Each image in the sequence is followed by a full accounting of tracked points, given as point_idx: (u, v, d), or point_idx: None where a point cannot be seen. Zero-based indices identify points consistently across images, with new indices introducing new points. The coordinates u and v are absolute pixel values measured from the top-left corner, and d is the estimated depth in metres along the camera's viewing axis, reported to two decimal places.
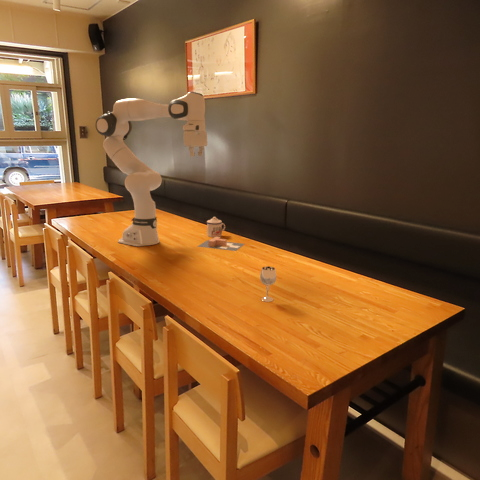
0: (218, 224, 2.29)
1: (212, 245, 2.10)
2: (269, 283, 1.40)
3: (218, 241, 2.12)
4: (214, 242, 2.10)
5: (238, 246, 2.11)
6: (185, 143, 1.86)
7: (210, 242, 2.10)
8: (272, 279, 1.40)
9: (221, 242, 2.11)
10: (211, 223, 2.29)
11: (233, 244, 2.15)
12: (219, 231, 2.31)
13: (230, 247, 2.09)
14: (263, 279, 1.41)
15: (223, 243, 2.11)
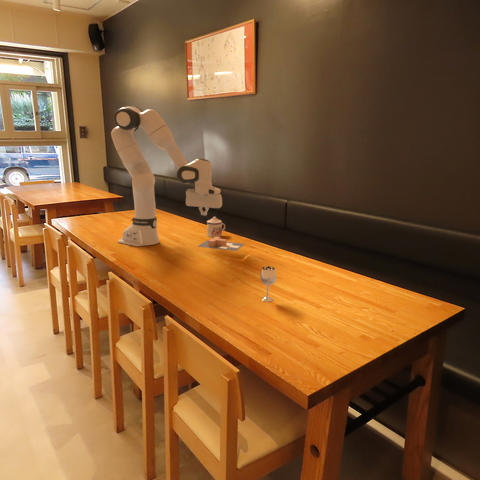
0: (218, 224, 2.29)
1: (212, 245, 2.10)
2: (269, 283, 1.40)
3: (218, 241, 2.12)
4: (214, 242, 2.10)
5: (238, 246, 2.11)
6: (220, 205, 2.07)
7: (210, 242, 2.10)
8: (272, 279, 1.40)
9: (221, 242, 2.11)
10: (211, 223, 2.29)
11: (233, 244, 2.15)
12: (219, 231, 2.31)
13: (230, 247, 2.09)
14: (263, 279, 1.41)
15: (223, 243, 2.11)
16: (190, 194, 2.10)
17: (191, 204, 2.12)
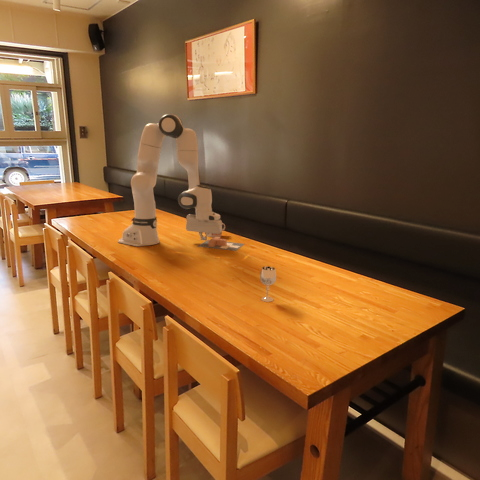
0: None
1: (212, 245, 2.10)
2: (269, 283, 1.40)
3: (218, 241, 2.12)
4: (214, 242, 2.10)
5: (238, 246, 2.11)
6: (220, 231, 2.11)
7: (210, 242, 2.10)
8: (272, 279, 1.40)
9: (221, 242, 2.11)
10: None
11: (233, 244, 2.15)
12: None
13: (230, 247, 2.09)
14: (263, 279, 1.41)
15: (223, 243, 2.11)
16: (190, 220, 2.14)
17: (191, 229, 2.15)
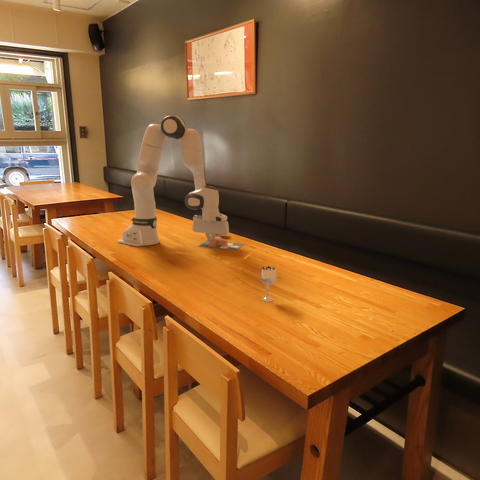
0: None
1: (213, 245, 2.10)
2: (269, 283, 1.40)
3: (219, 241, 2.12)
4: (215, 242, 2.10)
5: (238, 246, 2.11)
6: (227, 232, 2.10)
7: (211, 242, 2.09)
8: (272, 279, 1.40)
9: (222, 242, 2.11)
10: None
11: (233, 244, 2.15)
12: None
13: (230, 247, 2.09)
14: (263, 279, 1.41)
15: (224, 243, 2.11)
16: (197, 220, 2.13)
17: (198, 230, 2.14)
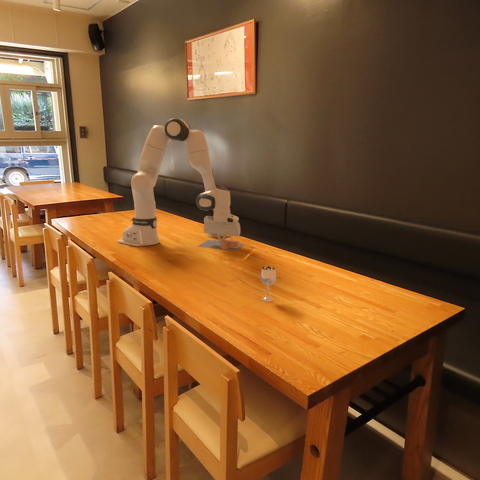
0: None
1: (224, 246, 2.08)
2: (269, 283, 1.40)
3: (230, 242, 2.10)
4: (226, 243, 2.08)
5: (238, 246, 2.11)
6: (238, 233, 2.08)
7: (222, 243, 2.08)
8: (272, 279, 1.40)
9: (233, 243, 2.09)
10: None
11: None
12: None
13: (230, 247, 2.09)
14: (263, 279, 1.41)
15: (235, 244, 2.09)
16: (208, 221, 2.11)
17: (209, 231, 2.12)
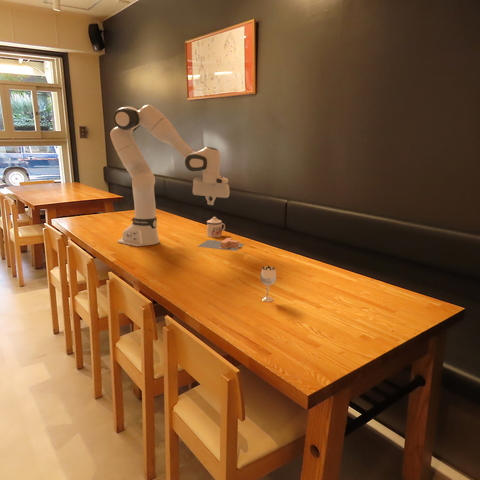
0: (218, 224, 2.29)
1: (224, 246, 2.08)
2: (269, 283, 1.40)
3: (230, 242, 2.10)
4: (226, 243, 2.08)
5: (238, 246, 2.11)
6: (227, 195, 2.05)
7: (222, 243, 2.08)
8: (272, 279, 1.40)
9: (233, 243, 2.09)
10: (211, 223, 2.29)
11: None
12: (219, 231, 2.31)
13: (230, 247, 2.09)
14: (263, 279, 1.41)
15: (235, 244, 2.09)
16: (197, 183, 2.08)
17: (198, 192, 2.10)
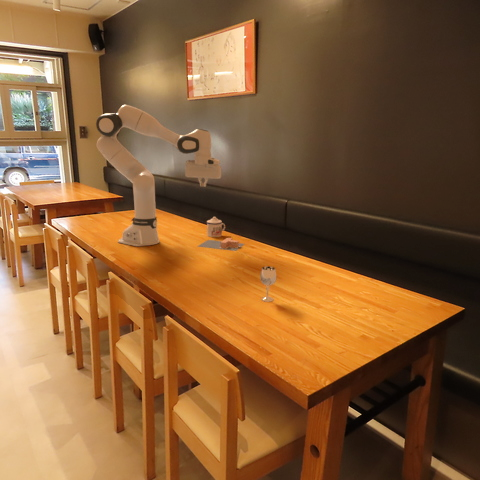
0: (218, 224, 2.29)
1: (224, 246, 2.08)
2: (269, 283, 1.40)
3: (230, 242, 2.10)
4: (226, 243, 2.08)
5: (238, 246, 2.11)
6: (219, 176, 2.09)
7: (222, 243, 2.08)
8: (272, 279, 1.40)
9: (233, 243, 2.09)
10: (211, 223, 2.29)
11: None
12: (219, 231, 2.31)
13: (230, 247, 2.09)
14: (263, 279, 1.41)
15: (235, 244, 2.09)
16: (189, 165, 2.12)
17: (190, 175, 2.13)
